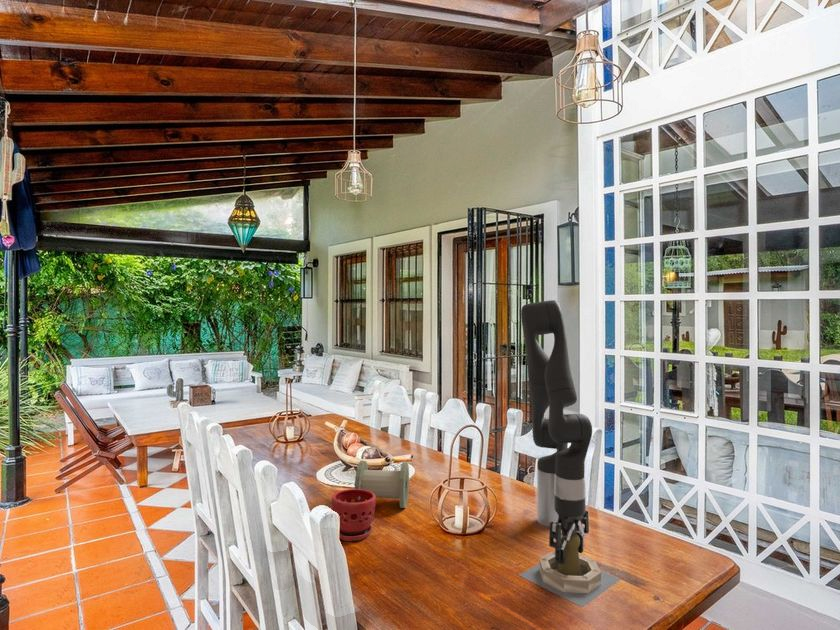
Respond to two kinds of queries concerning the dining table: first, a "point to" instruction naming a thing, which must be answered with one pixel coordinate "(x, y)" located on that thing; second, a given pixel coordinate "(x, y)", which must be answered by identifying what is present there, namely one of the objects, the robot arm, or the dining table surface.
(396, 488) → the spool
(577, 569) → the olive pawn peg
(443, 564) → the dining table surface
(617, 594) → the dining table surface
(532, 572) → the slate mat
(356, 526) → the plant pot
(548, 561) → the wooden ring
